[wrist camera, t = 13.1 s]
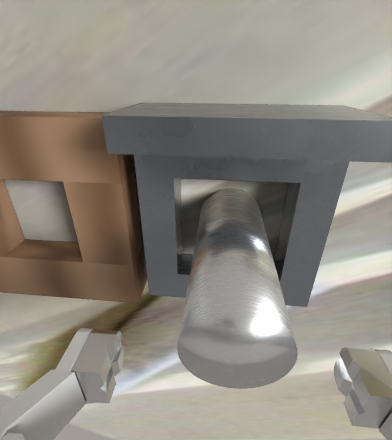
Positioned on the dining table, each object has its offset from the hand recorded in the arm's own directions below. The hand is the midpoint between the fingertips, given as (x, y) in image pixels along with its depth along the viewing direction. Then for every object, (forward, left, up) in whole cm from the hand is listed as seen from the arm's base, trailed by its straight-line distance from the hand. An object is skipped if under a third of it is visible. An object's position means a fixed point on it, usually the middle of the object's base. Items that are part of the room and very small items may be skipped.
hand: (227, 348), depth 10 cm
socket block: (-14, 0, -11) cm, 17 cm away
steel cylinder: (0, 0, -11) cm, 11 cm away
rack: (0, 0, -11) cm, 11 cm away
